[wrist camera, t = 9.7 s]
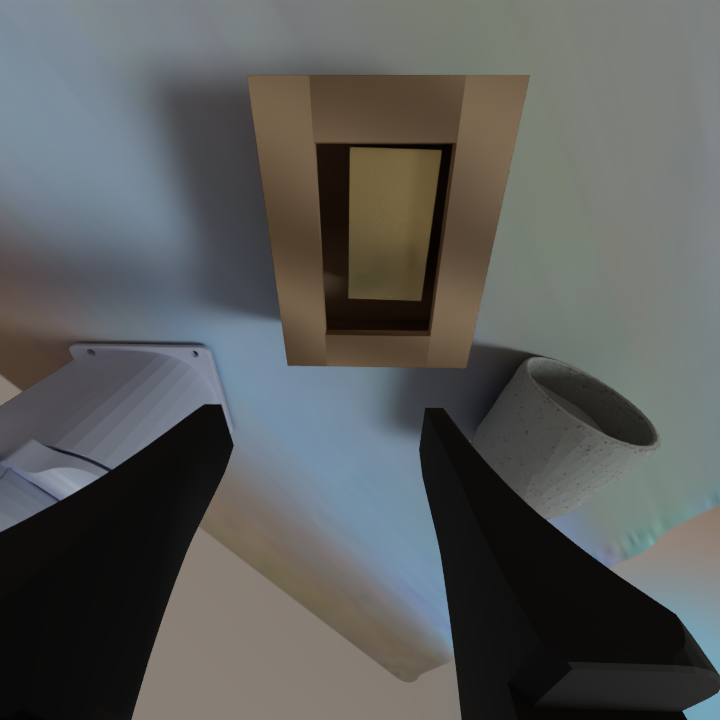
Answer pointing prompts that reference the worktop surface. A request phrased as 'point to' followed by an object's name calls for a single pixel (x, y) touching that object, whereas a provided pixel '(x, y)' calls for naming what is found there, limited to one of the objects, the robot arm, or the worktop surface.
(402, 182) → the yellow rectangular block
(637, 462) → the ceramic mug
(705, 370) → the worktop surface
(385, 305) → the walnut box
